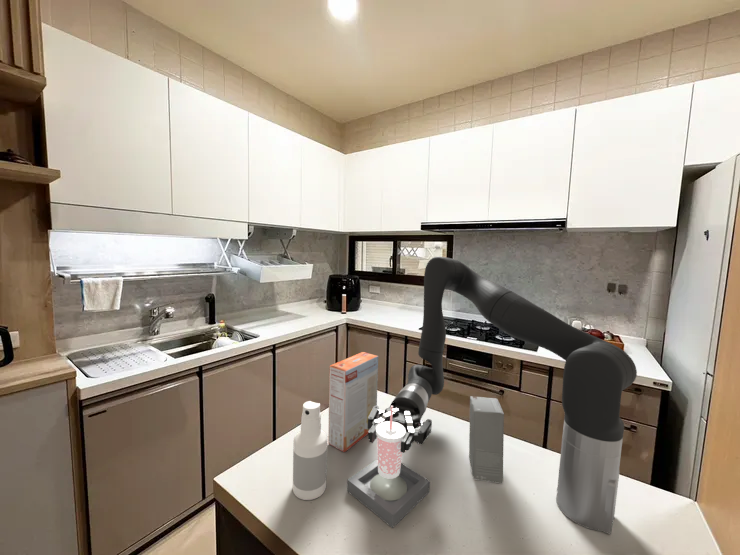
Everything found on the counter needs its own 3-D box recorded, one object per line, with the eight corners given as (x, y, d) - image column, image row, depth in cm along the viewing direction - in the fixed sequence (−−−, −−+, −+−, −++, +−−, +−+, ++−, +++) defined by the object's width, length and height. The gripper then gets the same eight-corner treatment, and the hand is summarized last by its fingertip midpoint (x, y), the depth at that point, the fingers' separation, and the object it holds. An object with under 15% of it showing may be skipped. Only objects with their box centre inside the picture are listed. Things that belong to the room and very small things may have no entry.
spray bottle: (285, 494, 63) (287, 409, 61) (304, 472, 69) (305, 394, 67) (315, 505, 60) (318, 416, 59) (332, 481, 67) (334, 400, 65)
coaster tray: (429, 492, 65) (429, 480, 65) (392, 528, 56) (393, 515, 56) (385, 463, 73) (385, 453, 73) (347, 490, 64) (347, 479, 64)
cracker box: (359, 420, 91) (362, 350, 89) (376, 428, 87) (380, 355, 85) (326, 444, 79) (328, 364, 78) (344, 453, 76) (347, 370, 74)
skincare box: (503, 485, 68) (509, 415, 66) (468, 479, 69) (473, 410, 68) (495, 460, 76) (500, 397, 74) (465, 455, 77) (469, 393, 76)
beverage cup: (385, 486, 60) (388, 417, 59) (368, 466, 65) (370, 403, 64) (409, 474, 64) (413, 409, 62) (391, 456, 69) (394, 396, 67)
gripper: (383, 383, 79) (354, 415, 64) (440, 396, 74) (423, 435, 58) (382, 411, 80) (352, 450, 65) (438, 426, 74) (421, 472, 59)
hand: (386, 443), depth 61 cm, fingers closed on beverage cup, 6 cm apart
